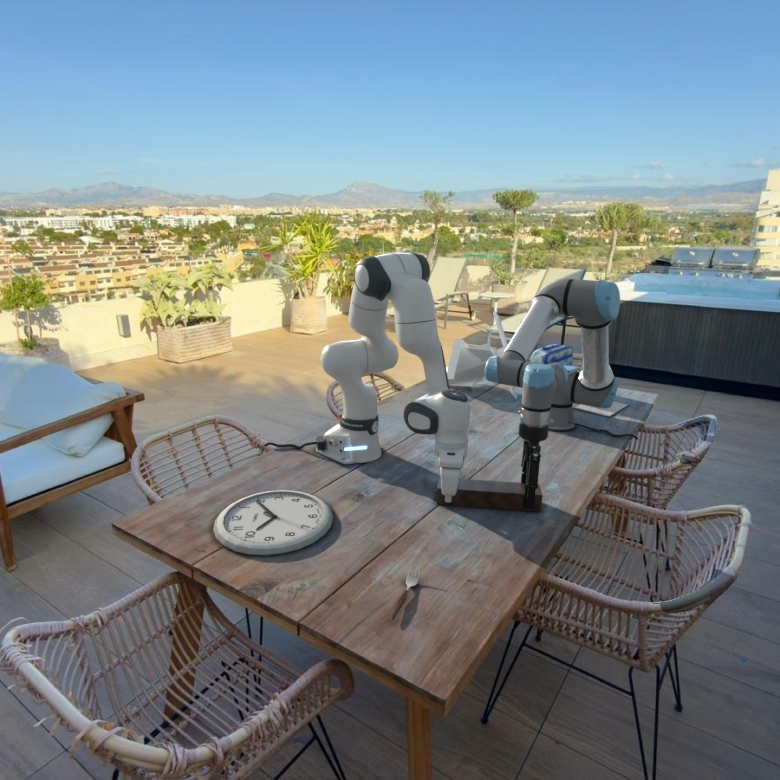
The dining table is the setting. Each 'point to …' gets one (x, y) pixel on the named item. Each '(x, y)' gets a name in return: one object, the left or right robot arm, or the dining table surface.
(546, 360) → the lunch box
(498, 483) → the walnut beam
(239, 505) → the wall clock
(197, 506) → the dining table surface
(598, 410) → the invitation card
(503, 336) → the white plastic object
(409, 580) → the fork
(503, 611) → the dining table surface
